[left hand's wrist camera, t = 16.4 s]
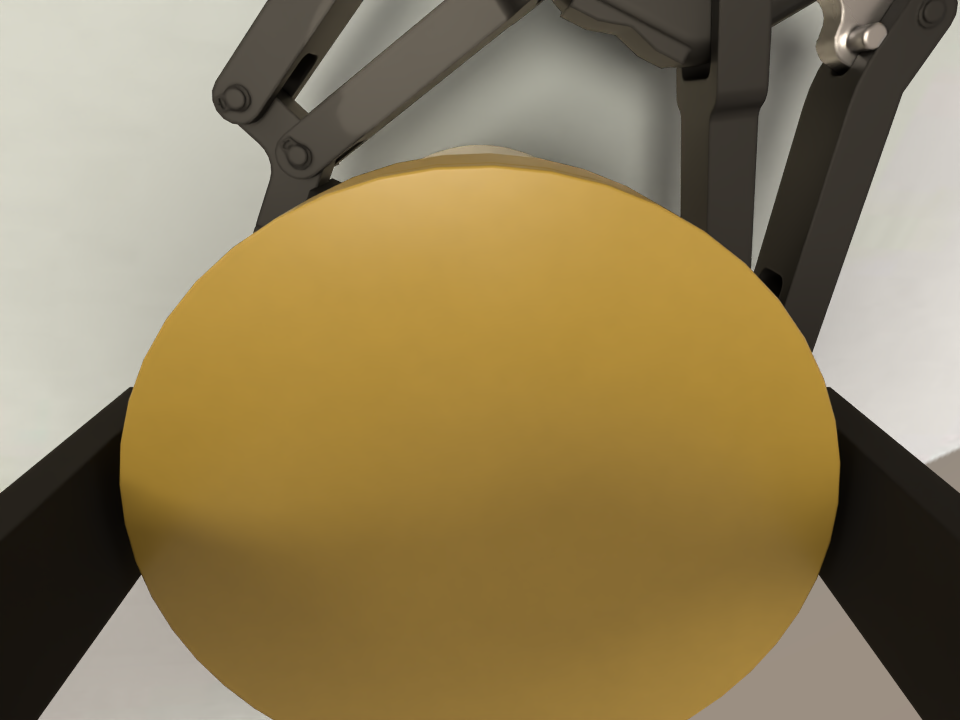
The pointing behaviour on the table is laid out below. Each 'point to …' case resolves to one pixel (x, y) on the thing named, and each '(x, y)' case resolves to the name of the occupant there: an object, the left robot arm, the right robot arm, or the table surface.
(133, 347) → the table surface
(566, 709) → the lid
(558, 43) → the table surface
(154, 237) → the table surface
